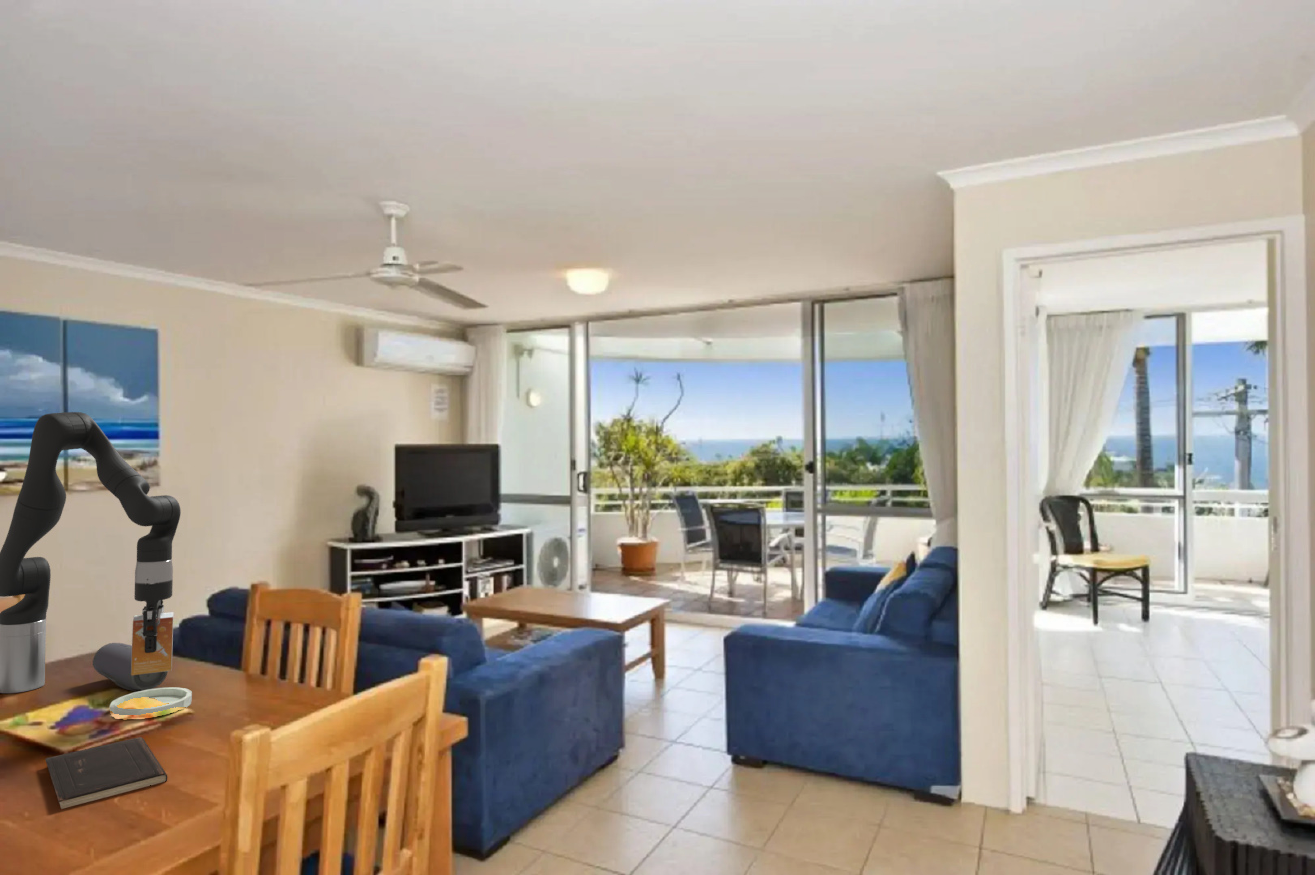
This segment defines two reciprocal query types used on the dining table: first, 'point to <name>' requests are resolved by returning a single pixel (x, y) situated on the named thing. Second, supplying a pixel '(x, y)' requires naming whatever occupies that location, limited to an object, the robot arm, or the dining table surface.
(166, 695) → the round tray
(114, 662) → the bluetooth speaker
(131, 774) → the hardcover book
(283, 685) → the dining table surface
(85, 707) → the dining table surface
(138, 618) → the small box
